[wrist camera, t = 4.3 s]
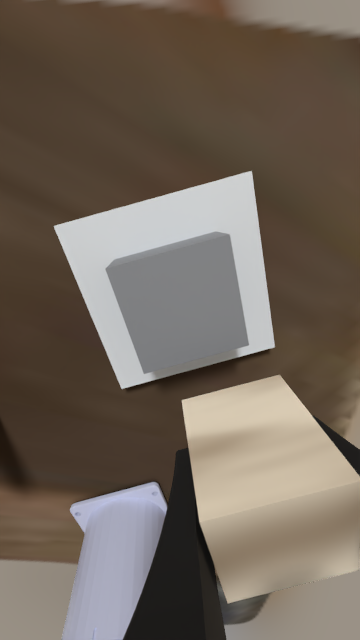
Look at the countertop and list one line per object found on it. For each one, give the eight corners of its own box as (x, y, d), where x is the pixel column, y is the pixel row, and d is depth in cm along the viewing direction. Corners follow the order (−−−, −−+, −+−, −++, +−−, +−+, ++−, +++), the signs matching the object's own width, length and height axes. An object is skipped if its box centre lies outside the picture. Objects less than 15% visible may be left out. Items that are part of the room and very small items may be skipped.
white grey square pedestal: (268, 340, 19) (296, 370, 15) (123, 380, 19) (115, 420, 15) (245, 173, 15) (276, 158, 11) (59, 225, 15) (28, 228, 11)
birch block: (287, 446, 13) (359, 570, 9) (202, 468, 13) (227, 603, 9) (279, 374, 12) (362, 480, 7) (181, 400, 12) (199, 522, 7)
